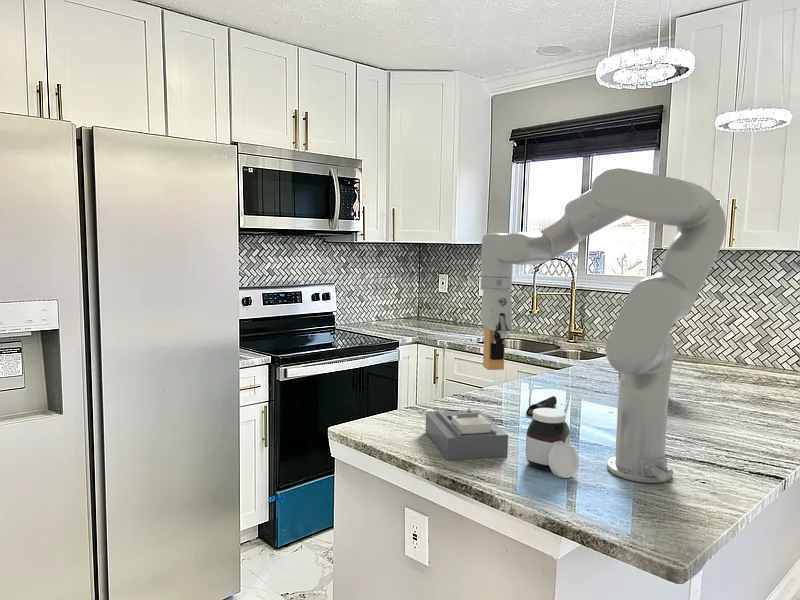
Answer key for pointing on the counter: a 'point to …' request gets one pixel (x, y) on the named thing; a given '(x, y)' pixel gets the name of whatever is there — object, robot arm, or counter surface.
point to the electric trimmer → (542, 405)
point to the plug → (487, 361)
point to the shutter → (471, 423)
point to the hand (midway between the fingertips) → (493, 356)
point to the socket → (465, 438)
